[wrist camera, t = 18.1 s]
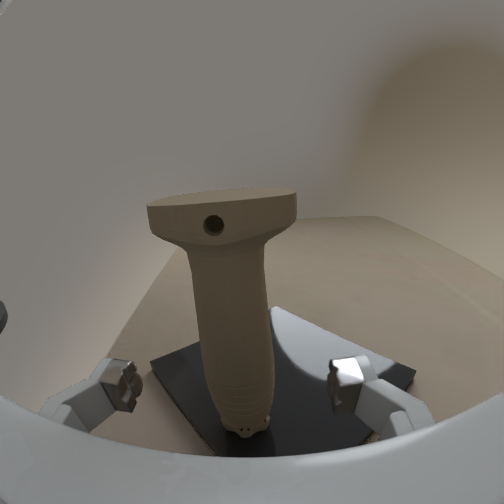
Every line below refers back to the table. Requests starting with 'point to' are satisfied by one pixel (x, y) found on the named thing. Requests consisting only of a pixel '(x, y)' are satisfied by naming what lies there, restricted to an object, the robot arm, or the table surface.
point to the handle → (230, 290)
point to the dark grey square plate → (280, 393)
